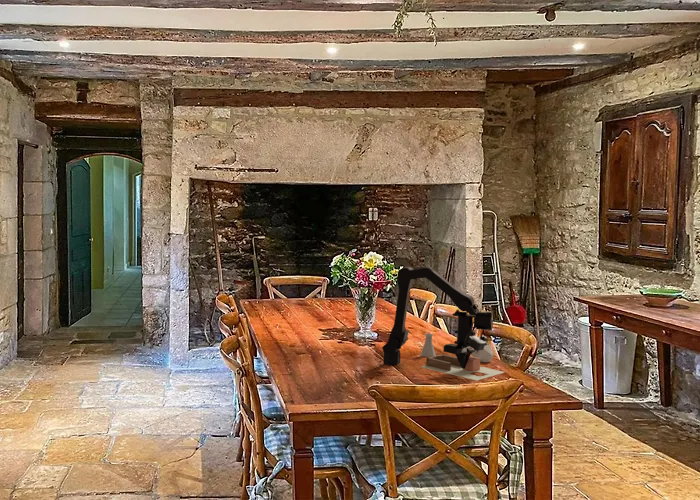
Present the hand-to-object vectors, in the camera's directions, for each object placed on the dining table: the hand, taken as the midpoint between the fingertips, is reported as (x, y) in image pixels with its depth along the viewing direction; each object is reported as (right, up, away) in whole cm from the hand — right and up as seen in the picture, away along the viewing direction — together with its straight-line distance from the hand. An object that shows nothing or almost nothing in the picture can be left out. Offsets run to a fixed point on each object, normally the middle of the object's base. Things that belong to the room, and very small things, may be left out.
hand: (463, 368), depth 267 cm
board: (0, -2, +2) cm, 3 cm away
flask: (-11, 0, +26) cm, 28 cm away
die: (+11, -1, +19) cm, 21 cm away
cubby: (-6, 0, +7) cm, 9 cm away
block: (+4, -1, +3) cm, 5 cm away
